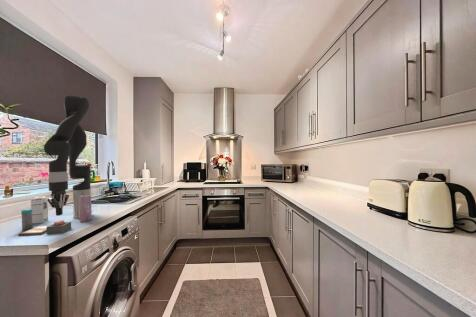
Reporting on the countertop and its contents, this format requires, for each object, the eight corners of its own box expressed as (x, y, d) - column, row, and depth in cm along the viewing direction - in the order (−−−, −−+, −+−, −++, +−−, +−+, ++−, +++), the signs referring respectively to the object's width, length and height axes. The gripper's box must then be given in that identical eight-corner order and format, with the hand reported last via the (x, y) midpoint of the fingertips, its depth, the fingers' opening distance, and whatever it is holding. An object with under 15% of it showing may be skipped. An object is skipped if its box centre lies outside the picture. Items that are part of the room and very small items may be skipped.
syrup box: (43, 222, 128) (43, 197, 128) (31, 223, 126) (30, 198, 126) (48, 220, 133) (47, 196, 133) (35, 221, 131) (35, 196, 131)
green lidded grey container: (26, 228, 116) (25, 209, 116) (35, 228, 117) (34, 208, 117) (19, 231, 112) (18, 211, 112) (28, 230, 113) (28, 210, 113)
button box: (56, 229, 114) (56, 222, 114) (71, 228, 115) (71, 221, 115) (46, 233, 107) (46, 226, 107) (62, 232, 108) (62, 225, 108)
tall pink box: (89, 218, 133) (89, 194, 133) (93, 220, 130) (92, 195, 130) (77, 221, 129) (77, 195, 129) (81, 222, 125) (80, 196, 125)
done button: (57, 223, 113) (57, 220, 113) (66, 223, 113) (66, 220, 113) (52, 226, 109) (51, 222, 109) (60, 225, 109) (60, 222, 109)
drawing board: (37, 228, 117) (37, 226, 117) (58, 226, 118) (58, 224, 118) (18, 236, 105) (18, 233, 105) (41, 234, 106) (41, 232, 106)
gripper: (59, 180, 117) (59, 212, 117) (40, 182, 104) (41, 219, 104) (74, 179, 118) (75, 211, 118) (57, 181, 105) (58, 218, 105)
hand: (59, 215), depth 111 cm, fingers closed
